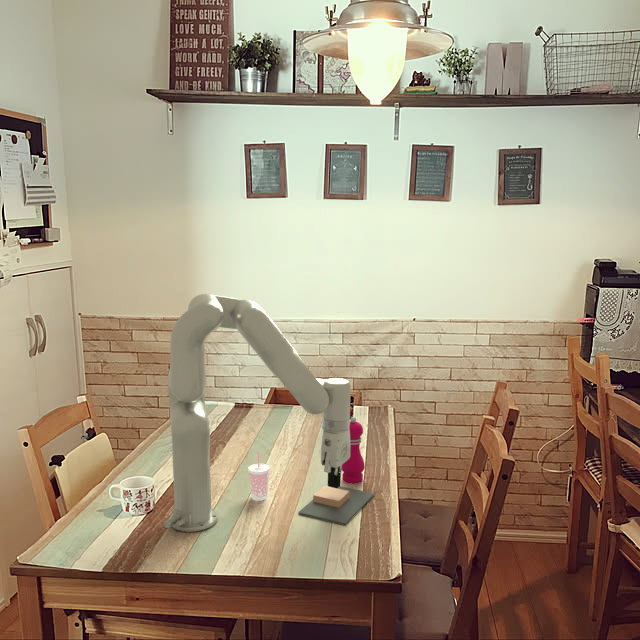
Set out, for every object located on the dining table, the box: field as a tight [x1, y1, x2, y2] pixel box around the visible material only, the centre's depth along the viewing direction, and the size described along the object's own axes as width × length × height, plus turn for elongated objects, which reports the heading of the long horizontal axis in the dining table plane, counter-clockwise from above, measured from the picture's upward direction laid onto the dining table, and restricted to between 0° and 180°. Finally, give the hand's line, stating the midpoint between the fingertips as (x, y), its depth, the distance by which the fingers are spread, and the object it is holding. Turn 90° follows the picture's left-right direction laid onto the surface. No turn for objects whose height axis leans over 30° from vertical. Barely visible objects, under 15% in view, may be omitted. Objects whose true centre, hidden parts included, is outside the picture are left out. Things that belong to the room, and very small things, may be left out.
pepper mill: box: [341, 416, 365, 485], centre depth 200 cm, size 7×7×20 cm
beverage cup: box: [247, 450, 270, 502], centre depth 188 cm, size 6×6×14 cm
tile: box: [312, 485, 350, 508], centre depth 187 cm, size 2×8×7 cm
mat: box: [298, 485, 375, 526], centre depth 185 cm, size 20×14×1 cm
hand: (333, 486), depth 185 cm, fingers closed
